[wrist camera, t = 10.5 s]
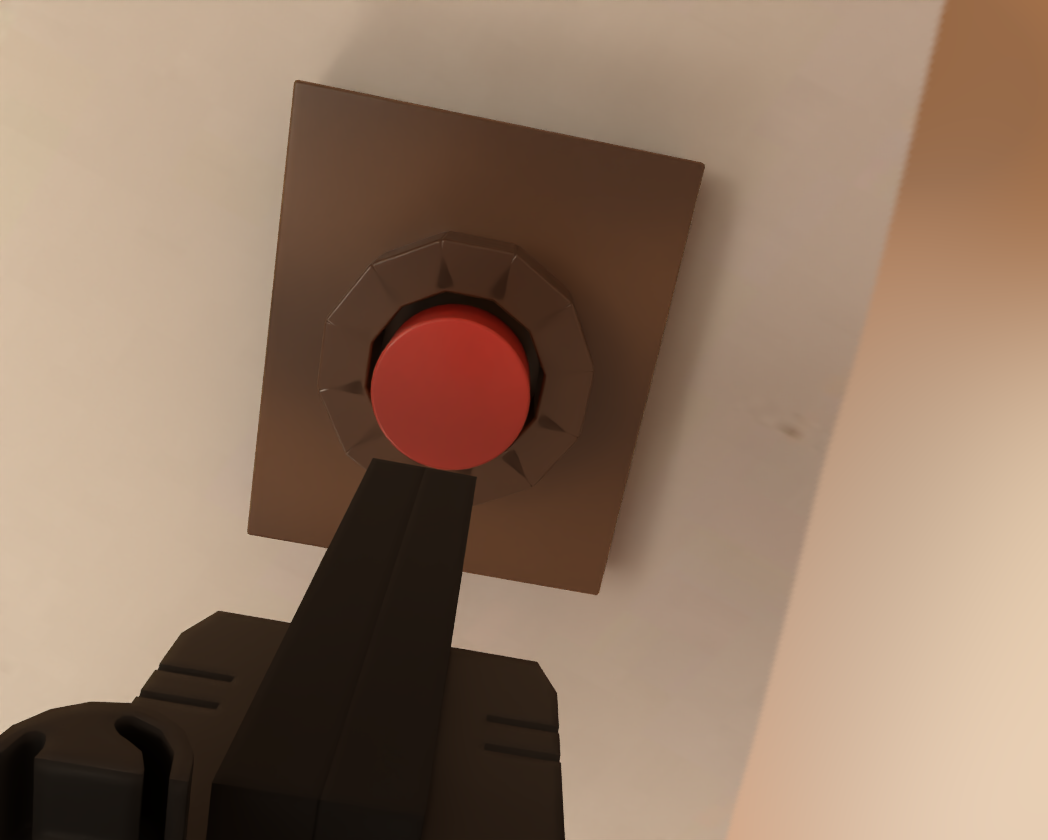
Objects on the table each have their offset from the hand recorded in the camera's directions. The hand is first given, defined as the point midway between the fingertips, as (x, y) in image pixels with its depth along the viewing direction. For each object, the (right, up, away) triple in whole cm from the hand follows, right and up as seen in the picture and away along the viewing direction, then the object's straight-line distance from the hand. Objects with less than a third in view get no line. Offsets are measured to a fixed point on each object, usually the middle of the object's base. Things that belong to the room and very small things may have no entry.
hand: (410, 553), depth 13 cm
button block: (0, +4, +12) cm, 13 cm away
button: (0, +3, +9) cm, 9 cm away
